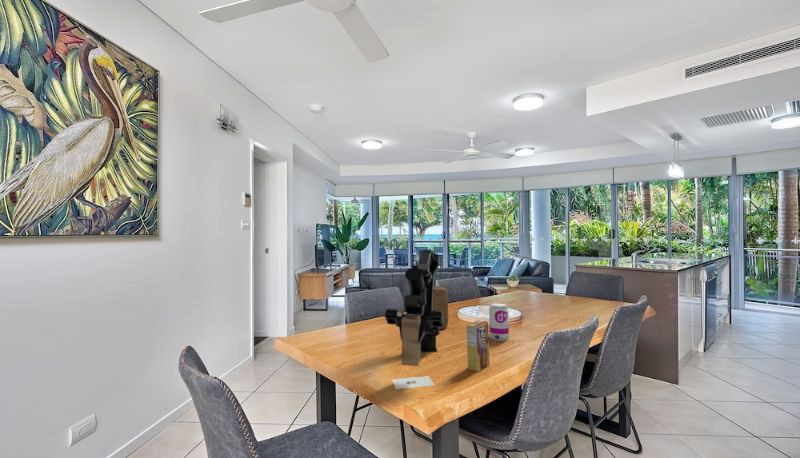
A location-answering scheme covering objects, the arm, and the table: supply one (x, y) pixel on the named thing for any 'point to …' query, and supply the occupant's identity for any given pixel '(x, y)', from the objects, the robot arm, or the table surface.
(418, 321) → the walnut block
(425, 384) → the tile
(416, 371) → the table surface
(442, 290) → the block
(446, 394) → the table surface
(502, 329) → the supplement can
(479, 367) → the candy box
